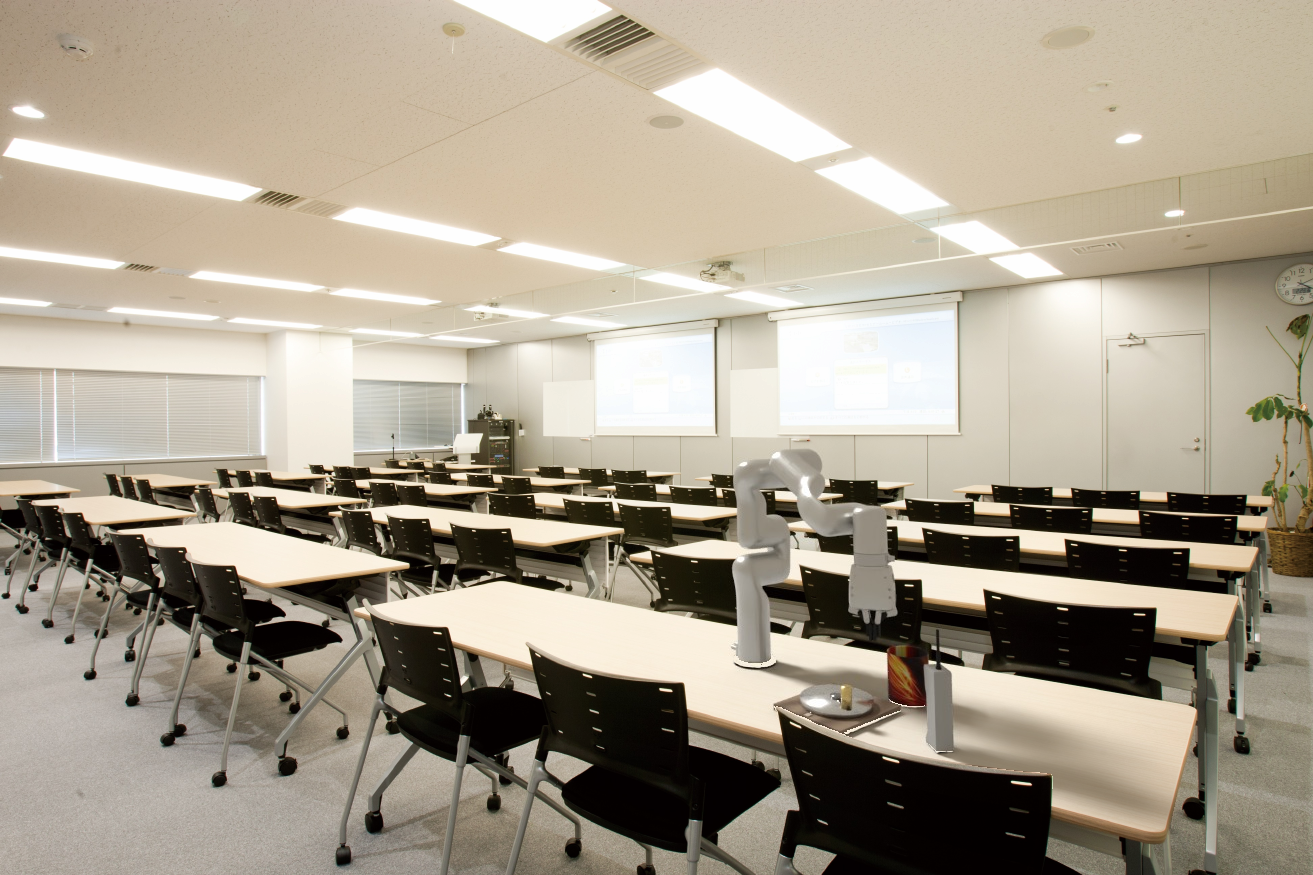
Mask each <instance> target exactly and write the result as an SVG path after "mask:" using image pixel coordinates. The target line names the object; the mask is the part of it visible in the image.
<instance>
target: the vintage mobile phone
mask: <svg viewBox="0 0 1313 875" xmlns="http://www.w3.org/2000/svg"><path fill="white" fill-rule="evenodd" d="M935 641H936V643H935V647H936V651H935V662H936V663H932V664H931V663H929V664H924V677H925V689H926V697H927V706H926V721H927V722H926V725H927V728H926V729H927V730H926V735H925V742H926V744H927V743H928V744H930V745H931V746H932V747H933V748H934V749H935V750H936V751H954V752H955V750H954V749H955V744H954V742H955V741H954V711H953V709H954V708H953V707H954V706H953V679H952V678H953V676H952V675H953V674H952V671H951V670H949V669H948V668H946V666H944V665H943V664H941V650H940V629H938V628H937V629H935ZM928 744H927V745H928Z"/></svg>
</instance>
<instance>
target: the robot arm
mask: <svg viewBox="0 0 1313 875" xmlns="http://www.w3.org/2000/svg"><path fill="white" fill-rule="evenodd" d="M822 469H823V461H822V458H821V456H820V455H819V454H818V452H816V451H815V450H814V449H810V448H790V449H788V448H787V449H781V450H778V451H776V452H774V453H773V455H772V456H771V457H770V458H759V459H749V460H744V461H742V462H741V463H740V464H738V465H737V466H736V468H735V470H734V473H733V475H732V477H733V480H732V481H733V483H732V484H733V490H734V492H735V493H734V494H735V498H736V532H737V534H736V535H737V542H738V544H739V546H740V547H741V548H743V549H745V550H760V549H767V551H761V552H752V553H746V554H745V553H744V554H742V555H740V556H738V557H736V558H735V560H734V561H733V563H732V565H731V566H732V567H731V569H732V570H731V571H732V577H733V580H734V581H733V582H734V586H735V595H736V596H735V597H736V598H735V599H736V619H737V620H736V623H737V640H735V641H734V642H733V644H731V646H730V649H731V650H733V651H735V655H736V656H738V658H739V660H741V661H744V662H748V663H763V662H767V661H769V660H770V659H771V654H772V650H771V649H772V648H771V647H772V646H771V613H770V612H771V611H770V605H771V604H770V600H769V597H768V595H767V593H766V592H765V590H764V589H763V586H767V585H775V584H780V583H783V582H785V581H786V580H787V579H788V578H789V576H790V571H791V531H790V527H789V524H788V522H787V521H786V519H785V518H784V517H782V516H781V515H778V514H767V502H766V498H765V496H764V494H763V493H762V491H761V490H766V489H769V490H770V489H780V488H781V489H783V488H784V489H785V488H787V489H788V490H789V491H790V492H792V494H793V495H795V497H796V506H797V509H798V513H799V515H800V518H801V519H802V520H803V522H804V523H805V524H807V526H809V527H810V528H811V529H812V530H813V531H814V532H815V533H817V534H819V535H820V536H821V537H822V536H823V537H826V538H827V537H837V536H839V537H840V536H847V535H852V538H853V539H852V542H853V563H852V564H851V565H850V566H851V567H850V571H849V581H848V603H849V604H848V612H849V613H850V614H853V615H857V616H859V618H861V619H862V620H863V621H864V623H865V635H866V637H868V640H869V642H872V641H873V642H877V641H878V639H879V638H881V623H882V622H883V621H884V620H885V619H887V618H889V617H890V618H891V617H895V616H897V615H898V610H897V607H896V606H897V594H896V583H895V582H896V581H895V575H894V570H893V566H892V565H890V563H892V562H894V563H895V562H896V561H895V560H896V559H895V558H896V557H895V555H891V554H890V553H889V551H888V550H889V548H888V522H887V521H888V518H887V516H888V515H887V511H886V509H885V508H884V507H883V506H879V505H878V506H877V505H866V504H863V503H858V502H845V503H844V502H842V503H834V504H833V503H831V504H825V503H824V502H822V501H821V500H820V499H819V498H820V496H821V495H822V494H823V493H824V490H825V488H826V480H825V477H824V475H823V474H822V473H821V472H822ZM871 611H875V618H874V619H872V616H871ZM761 665H762V664H761Z"/></svg>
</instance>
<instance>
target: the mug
mask: <svg viewBox="0 0 1313 875" xmlns="http://www.w3.org/2000/svg"><path fill="white" fill-rule="evenodd" d="M886 660H887V661H886V664H887V697H888V698H889V699H890V700H891V701H893V702H895V703H898V704H902V705H907V706H924V705H925V706H926V707H927V697H926V689H925V677H924V664H930V663H929V660H930V658H929V652H928V650H926V649H923V648H921V647H918V646H917V647H916V646H912V645H911V646H910V645H896V646H891V647H888V648H887V649H886ZM888 698H887V699H888Z"/></svg>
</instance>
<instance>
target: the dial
mask: <svg viewBox="0 0 1313 875" xmlns="http://www.w3.org/2000/svg"><path fill="white" fill-rule="evenodd" d="M799 694H800V704H801V706H802V707H803V708H804V709H806V710H807V711H809V712H811V713H814V714H817V715H820V716H825V717H830V718H856V717H861V716H864V715H867V714H869V713H870V712H872V711H873V709H874V700H873V697H872V696H873V695H872V696H871V694H870V693H868V692H867V691H865V690H863V689H859V688H858V687H853V686H852V685H851V684H848V683H847V684H846V683H845V684H840V685H827V684H819V685H813V686H810V687H807V688H804V689H803V690H802V691H801V692H800V693H799Z"/></svg>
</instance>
